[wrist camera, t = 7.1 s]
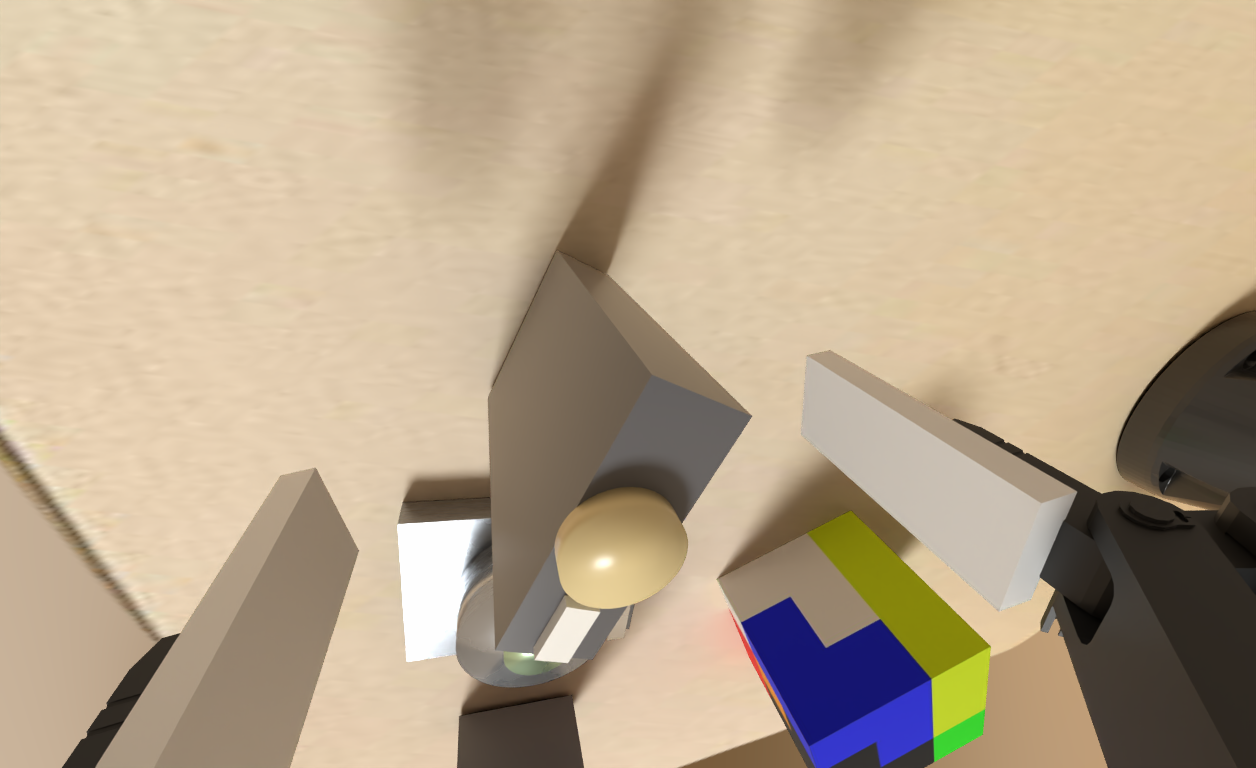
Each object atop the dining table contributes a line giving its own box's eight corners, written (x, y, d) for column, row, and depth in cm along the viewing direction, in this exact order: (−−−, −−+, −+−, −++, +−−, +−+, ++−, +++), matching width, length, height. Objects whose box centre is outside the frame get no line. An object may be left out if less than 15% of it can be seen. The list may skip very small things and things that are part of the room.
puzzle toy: (716, 578, 31) (808, 746, 22) (850, 509, 31) (990, 646, 23) (748, 656, 36) (834, 818, 27) (863, 595, 36) (982, 734, 28)
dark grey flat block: (554, 248, 19) (658, 387, 8) (611, 276, 20) (771, 433, 9) (485, 397, 20) (490, 677, 10) (540, 415, 22) (601, 684, 11)
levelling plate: (645, 489, 26) (681, 563, 21) (622, 607, 29) (648, 692, 25) (402, 502, 22) (381, 595, 17) (410, 635, 26) (394, 741, 21)
